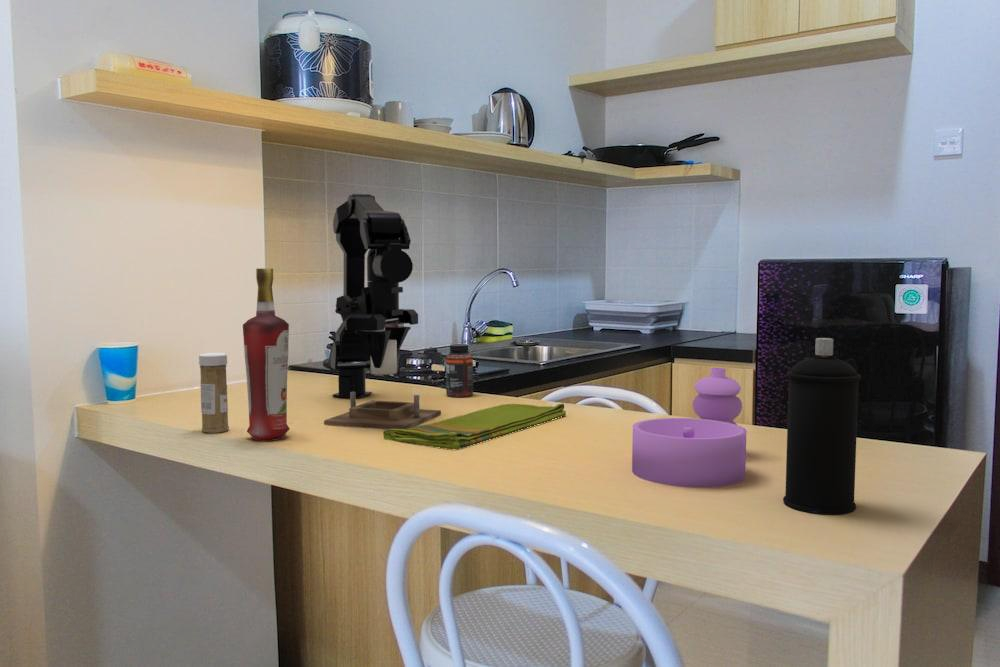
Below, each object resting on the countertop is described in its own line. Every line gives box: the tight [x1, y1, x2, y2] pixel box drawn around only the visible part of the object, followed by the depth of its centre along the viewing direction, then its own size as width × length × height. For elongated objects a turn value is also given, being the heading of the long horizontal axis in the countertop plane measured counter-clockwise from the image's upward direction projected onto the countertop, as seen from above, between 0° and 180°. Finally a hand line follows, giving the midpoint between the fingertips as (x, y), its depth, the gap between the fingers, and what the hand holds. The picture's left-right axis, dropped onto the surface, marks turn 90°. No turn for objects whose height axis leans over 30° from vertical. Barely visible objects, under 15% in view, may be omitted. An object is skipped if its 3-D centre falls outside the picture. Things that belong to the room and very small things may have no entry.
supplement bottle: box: [445, 343, 474, 398], centre depth 184 cm, size 6×6×11 cm
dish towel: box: [382, 403, 567, 450], centre depth 149 cm, size 15×36×3 cm, turn 146°
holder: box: [324, 392, 442, 430], centre depth 156 cm, size 16×16×5 cm
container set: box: [631, 367, 747, 488], centre depth 120 cm, size 25×15×13 cm, turn 149°
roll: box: [370, 339, 398, 376], centre depth 155 cm, size 5×5×6 cm
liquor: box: [242, 268, 290, 442], centre depth 138 cm, size 7×7×28 cm
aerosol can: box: [782, 337, 862, 515], centre depth 100 cm, size 8×8×20 cm
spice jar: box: [198, 352, 230, 434], centre depth 145 cm, size 5×5×13 cm
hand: (383, 366), depth 155 cm, fingers closed on roll, 5 cm apart
